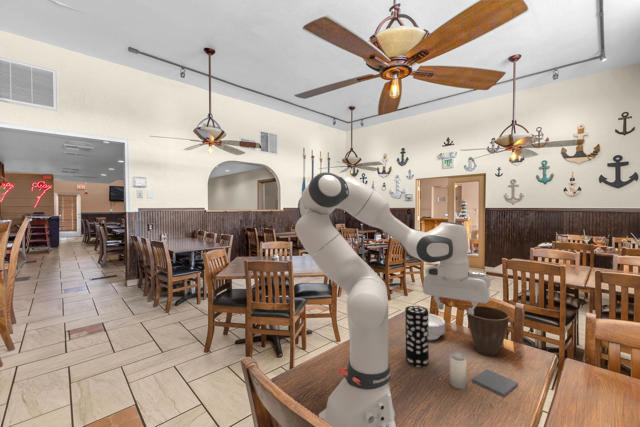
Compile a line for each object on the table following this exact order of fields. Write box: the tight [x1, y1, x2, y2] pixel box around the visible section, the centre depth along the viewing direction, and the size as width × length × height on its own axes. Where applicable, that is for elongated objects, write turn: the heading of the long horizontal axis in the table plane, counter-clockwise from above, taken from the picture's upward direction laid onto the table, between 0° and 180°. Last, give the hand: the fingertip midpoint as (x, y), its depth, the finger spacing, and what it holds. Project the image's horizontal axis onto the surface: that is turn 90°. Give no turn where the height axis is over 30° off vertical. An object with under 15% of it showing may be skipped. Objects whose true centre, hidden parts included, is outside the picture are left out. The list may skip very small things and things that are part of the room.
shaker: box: [449, 351, 467, 390], centre depth 97 cm, size 5×5×10 cm
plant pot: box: [465, 305, 510, 357], centre depth 119 cm, size 15×15×16 cm
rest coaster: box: [471, 368, 519, 398], centre depth 98 cm, size 10×10×1 cm
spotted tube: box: [404, 305, 430, 368], centre depth 112 cm, size 8×8×20 cm
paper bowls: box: [428, 312, 446, 341], centre depth 134 cm, size 15×15×8 cm
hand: (455, 311), depth 98 cm, fingers open, 8 cm apart
